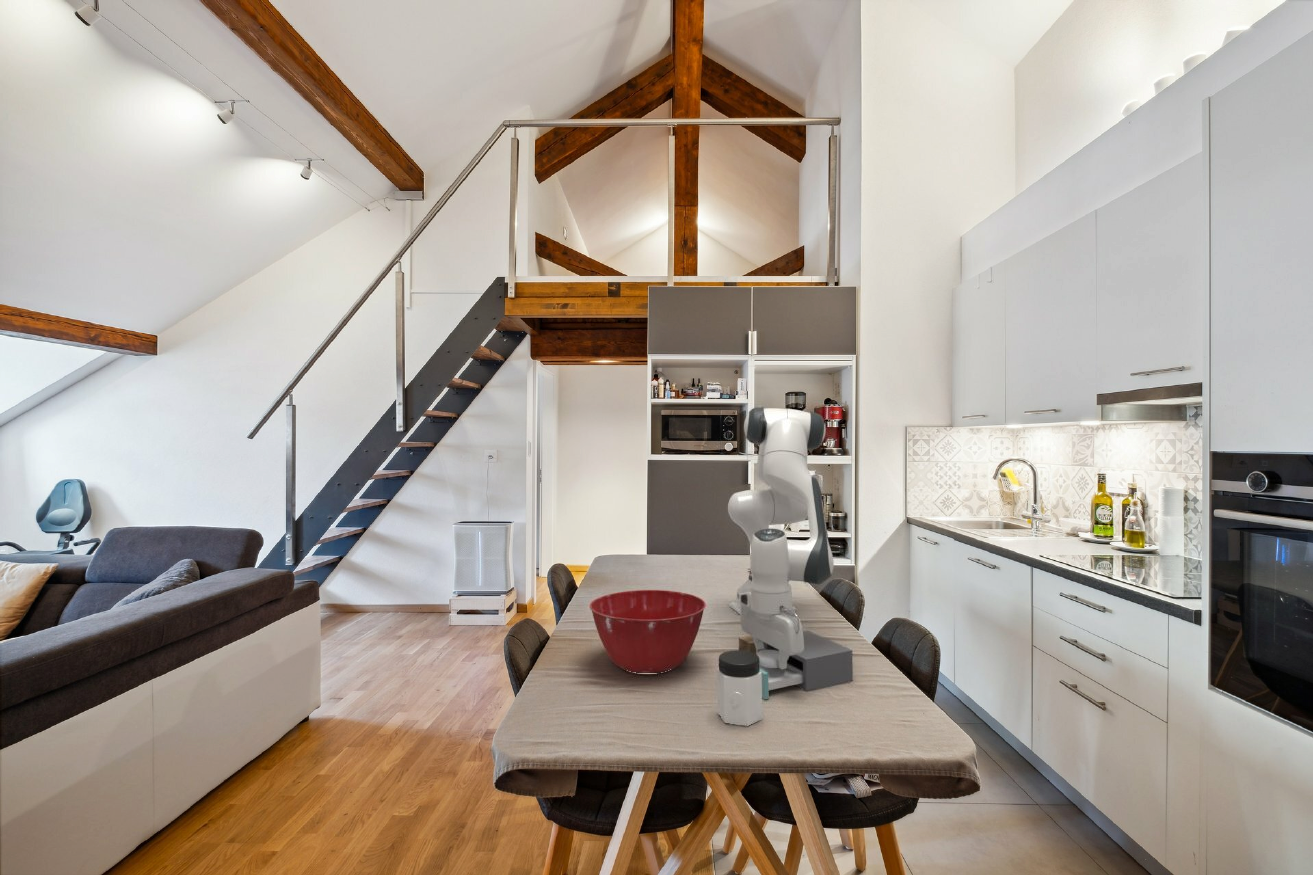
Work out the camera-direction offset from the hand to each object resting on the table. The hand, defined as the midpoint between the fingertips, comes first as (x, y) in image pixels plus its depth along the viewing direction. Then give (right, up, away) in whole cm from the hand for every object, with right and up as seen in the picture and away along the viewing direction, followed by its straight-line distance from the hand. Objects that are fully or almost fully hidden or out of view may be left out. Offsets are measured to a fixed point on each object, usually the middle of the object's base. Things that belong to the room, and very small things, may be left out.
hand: (771, 662), depth 142 cm
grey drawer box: (+9, -4, +4) cm, 11 cm away
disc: (0, 0, 0) cm, 0 cm away
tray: (-1, -4, 0) cm, 4 cm away
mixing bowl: (-28, -5, +12) cm, 31 cm away
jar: (-10, -5, -17) cm, 20 cm away
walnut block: (-2, -4, +15) cm, 15 cm away
